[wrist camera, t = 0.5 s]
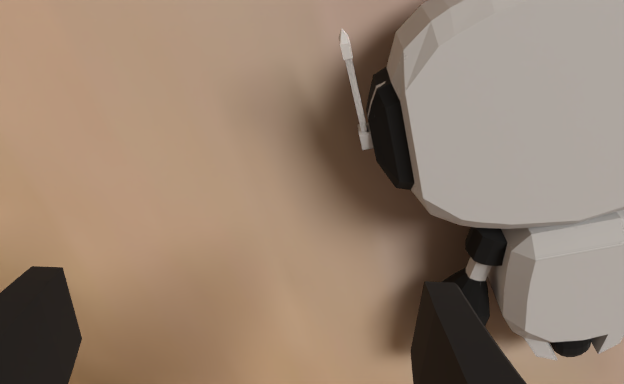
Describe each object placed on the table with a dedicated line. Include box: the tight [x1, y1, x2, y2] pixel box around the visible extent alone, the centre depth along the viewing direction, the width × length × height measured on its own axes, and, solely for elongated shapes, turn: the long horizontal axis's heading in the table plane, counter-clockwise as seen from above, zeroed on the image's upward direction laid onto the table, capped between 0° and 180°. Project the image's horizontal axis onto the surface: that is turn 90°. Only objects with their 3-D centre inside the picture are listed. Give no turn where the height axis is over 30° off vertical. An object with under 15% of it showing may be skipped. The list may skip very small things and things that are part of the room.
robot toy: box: [339, 0, 624, 360], centre depth 20 cm, size 12×4×15 cm
